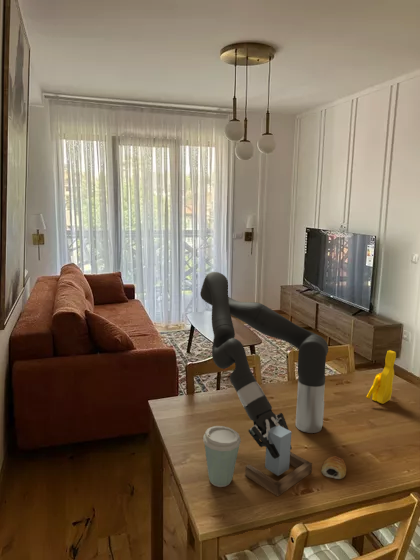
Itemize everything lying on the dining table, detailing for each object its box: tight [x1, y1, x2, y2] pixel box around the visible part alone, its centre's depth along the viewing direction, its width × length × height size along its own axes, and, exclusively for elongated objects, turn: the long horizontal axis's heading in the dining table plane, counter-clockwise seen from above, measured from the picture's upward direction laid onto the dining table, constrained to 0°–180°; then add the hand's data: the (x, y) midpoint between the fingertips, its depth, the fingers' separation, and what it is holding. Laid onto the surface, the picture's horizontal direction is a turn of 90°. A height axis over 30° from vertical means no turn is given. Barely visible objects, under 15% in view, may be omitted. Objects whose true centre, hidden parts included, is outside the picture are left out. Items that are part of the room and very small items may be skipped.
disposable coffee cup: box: [202, 425, 242, 488], centre depth 120 cm, size 11×11×15 cm
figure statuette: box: [365, 349, 397, 405], centre depth 173 cm, size 18×8×22 cm, turn 131°
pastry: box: [320, 455, 347, 480], centre depth 128 cm, size 9×7×4 cm
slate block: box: [264, 426, 293, 477], centre depth 124 cm, size 5×5×12 cm
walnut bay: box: [244, 451, 313, 497], centre depth 125 cm, size 16×12×3 cm
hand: (283, 453), depth 123 cm, fingers closed on slate block, 5 cm apart
